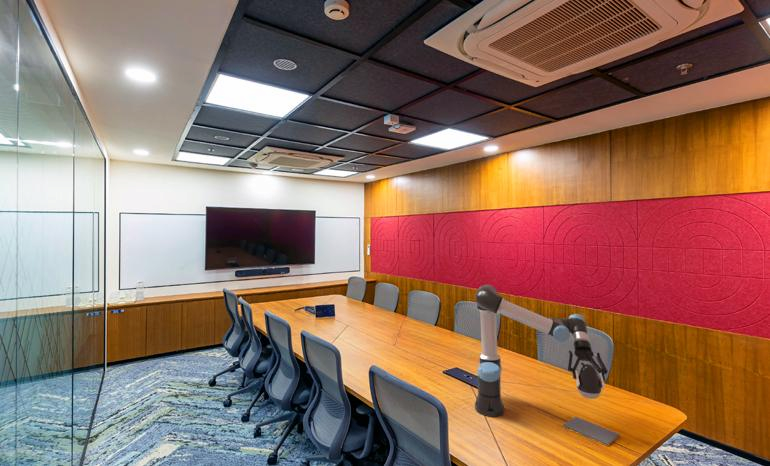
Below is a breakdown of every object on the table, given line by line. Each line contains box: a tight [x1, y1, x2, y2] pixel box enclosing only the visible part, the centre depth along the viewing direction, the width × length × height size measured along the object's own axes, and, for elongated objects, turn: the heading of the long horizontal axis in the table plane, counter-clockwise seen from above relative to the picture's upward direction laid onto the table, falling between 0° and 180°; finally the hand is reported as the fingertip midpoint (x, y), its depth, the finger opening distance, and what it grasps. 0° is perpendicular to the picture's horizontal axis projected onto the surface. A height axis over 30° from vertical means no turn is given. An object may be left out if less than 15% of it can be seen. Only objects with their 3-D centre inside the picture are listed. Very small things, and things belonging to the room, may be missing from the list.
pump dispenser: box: [576, 362, 602, 400], centre depth 168 cm, size 10×10×15 cm
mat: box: [562, 416, 621, 446], centre depth 167 cm, size 13×20×1 cm, turn 36°
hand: (590, 386), depth 165 cm, fingers closed on pump dispenser, 10 cm apart
